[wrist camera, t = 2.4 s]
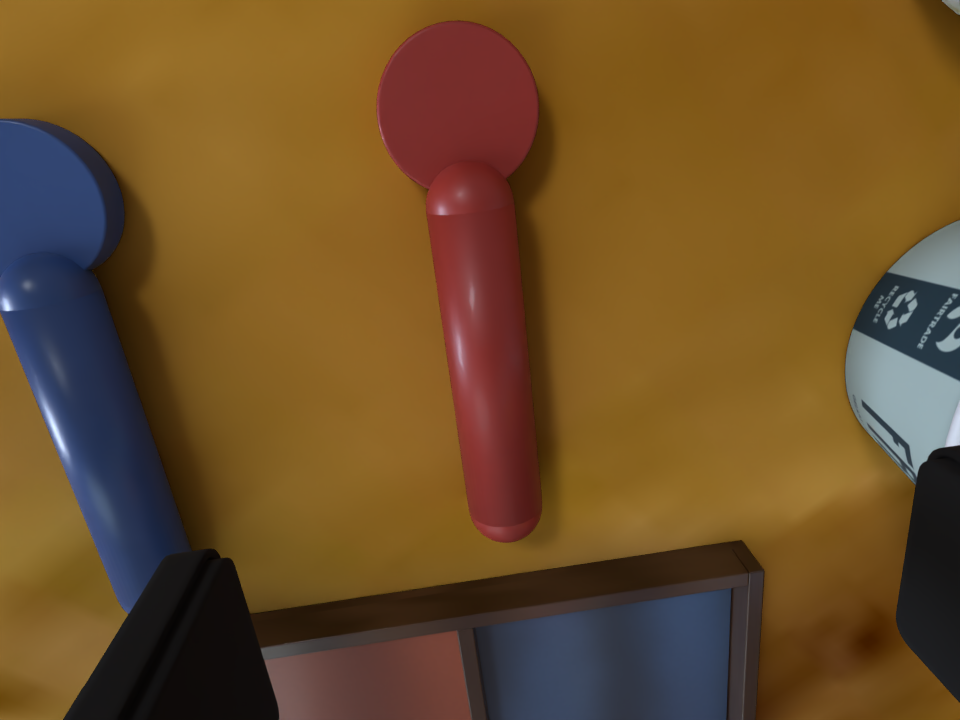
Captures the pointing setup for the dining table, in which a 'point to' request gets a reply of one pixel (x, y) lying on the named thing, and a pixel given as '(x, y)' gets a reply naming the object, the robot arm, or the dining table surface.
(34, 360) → the blue spoon
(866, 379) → the food container
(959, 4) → the bread roll
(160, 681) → the robot arm
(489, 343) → the red spoon
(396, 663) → the sorting tray
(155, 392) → the dining table surface
